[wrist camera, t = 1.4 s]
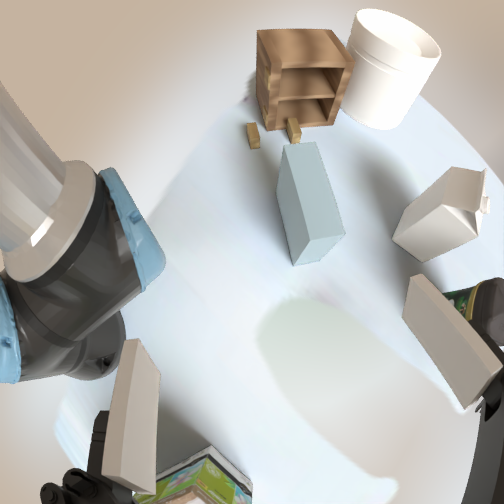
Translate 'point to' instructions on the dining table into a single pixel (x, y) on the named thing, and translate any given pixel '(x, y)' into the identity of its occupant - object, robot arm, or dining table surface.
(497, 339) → the coffee jar
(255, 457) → the dining table surface
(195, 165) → the dining table surface
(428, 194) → the milk carton
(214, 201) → the dining table surface
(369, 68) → the canister
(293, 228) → the door
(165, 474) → the tea box
